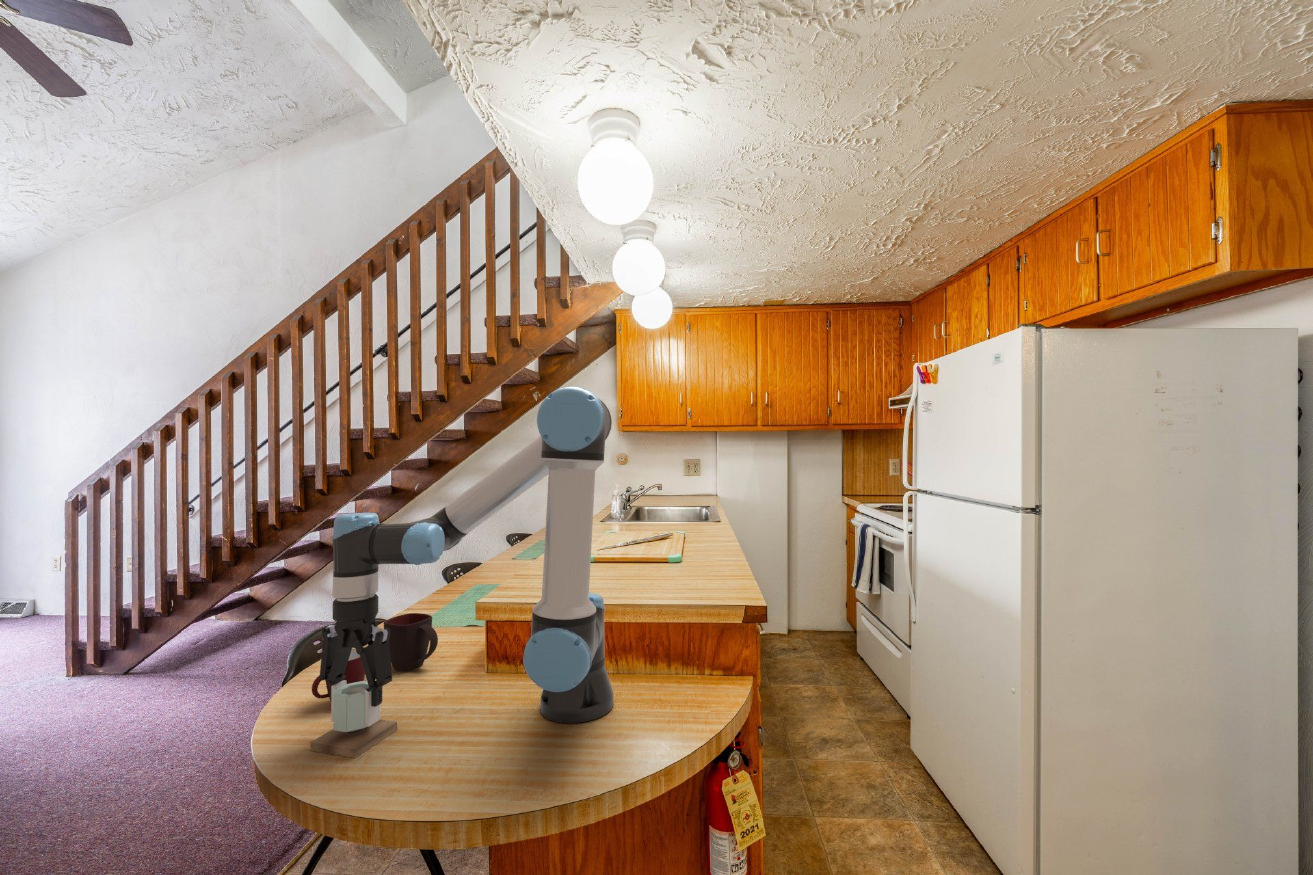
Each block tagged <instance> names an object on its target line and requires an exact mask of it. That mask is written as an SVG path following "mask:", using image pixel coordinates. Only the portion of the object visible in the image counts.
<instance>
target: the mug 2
mask: <svg viewBox="0 0 1313 875" xmlns="http://www.w3.org/2000/svg"><path fill="white" fill-rule="evenodd" d="M386 628H389V629H390V631H391V633H390V638H389V648H390V659H391V667H392V670H394V671H396V672H401V673H408V672H412V671H414V670H418V669H419V668H421V667H422V666H423V665H424V664H425V661H426V660H427V659H429V658H430V657H431V656H432V655H433V653H434V652H435V651H436V649H437V646H438V642H439V637H438V634H437V631H436V630H435V628H434V627H433V616H432V615H431V614H428V613H421V612H420V613H418V612H416V613H415V612H411V613H404V614H401V615H397V616H393V617H391V618H388V619H386V620H385V621H383V630H384V629H386Z"/></svg>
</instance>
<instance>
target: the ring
mask: <svg viewBox="0 0 1313 875" xmlns="http://www.w3.org/2000/svg"><path fill="white" fill-rule="evenodd" d="M357 687H363V688H365V690H366V689H367V688H369V685H368V682H367V680H364V681H360V682H355V683H350V684H346V685H344V686H342V687H340V688H338V689H336V690H334V722H333V725H332V726H333V728H332V729H333V730H335V731H342V732H349V731H353V730H358V729H362V728H365V727H366V726H365V691H364V692H362V693H357V694H352V695H346V692H347V691H348V690H350V689H352V688H357Z"/></svg>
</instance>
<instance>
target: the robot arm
mask: <svg viewBox="0 0 1313 875" xmlns="http://www.w3.org/2000/svg"><path fill="white" fill-rule="evenodd" d="M612 424H613V423H612V416H611V412H610V409H609V408H608V407H607V405H606V403H604V402H603V400H602V399H600V398H599V397H598V396H597V395H596V394H595V393H593V392H592V391H591V390H588V389H586V388H583V387H578V386H565V387H561V388H557V389H555V390H553V391H552V392H551V393H549V394H548V395H546V397H545V398H544V399H543V401H542V402H541V404H540V406H539V408H538V411H537V415H536V425H537V429H538V430H537V431H538V433H539V435H540V436H539V437H537V438H536V439H534V440H533V441H531V442H530V443H529V444H527V445H526V446H525V447H524V448H522V449H521V450H519V451H518V452H517V453H516V454H514V455H512V456H511V457H510V458H508V460H506V461H505V462H502V464H501V465H499V466H498V467H497V468H495V469H493V471H491V472H490V473H488V474H487V475H486V476H484V477H483V478H481V479H480V480H479V481H477V482H476V483H475V484H473V485H472V486H471V487H470V488H468V489H467V490H465V491H464V492H463V493H461V494H460V495H459V496H458V497H456V498H454V499H453V500H452V501H451V502H449V503H448V504H447V505H445V506H444V507H443V508H441V509H440V510H438V511H437V512H435V513H434V514H432V516H430V517H427V518H424V519H419V520H415V521H412V522H406V523H380V519H379V515H378V514H377V513H376V512H355V513H354V512H353V513H344V514H340V515H337V517H335V519H334V521H333V530H332V531H333V532H332V539H331V541H332V550H333V551H332V555H333V556H332V559H333V560H332V561H333V562H332V565H333V571H332V594H331V596H332V597H333V598H334V599H333V601H332V620H333V621H334V622H335V623H333V624H330V625H328V626H325V627H322V628H321V636H322V647H321V648H322V649H321V659H320V668H319V675H320V680H322V681H325V680H326V681H327V683H328V684H329V697H328V698H329V702H331V703H330V705H331V708H330V711H331V712H330V714H331V715H330V721H331V722H332V723H334V690H336V689H338V688H340V687H342V686H344V685H346V684H347V681H346V680H343V681H341V680H342V679H344V678H346V676H344V673H345V670H346V666H347V663H348V660H349V657H350V653H351V650H352V649H356V652H357V654H359V655H360V658H361V661H362V665H363V668H364V671H365V678H366V681H367V682H368V685H369V688H367V689H366V690H365V726H366V727H369V726H370V725H372V724H374V723H375V722H377V721H379V720H380V719H381V704H382V703H383V687H385V686H386V685H387V684H389V683H391V682H392V681H393V668H392V664H391V659H390V648H389V638H390V633H391V631H390V629H389V628H386V629H384V628H380V627H378V623H377V621H376V619H377V618H376V617H377V615H378V613H379V595H378V594H377V592H379V565H415V566H420V565H423V564H433V563H436V562H438V561H439V560H440V559H441V556H442V555H443V553H444V552H445V551H449V550H451V549H452V548H454V547H455V546H457V545H458V544H460V542H461V541H462V540H463V538H465V537H466V536H467V535H468V534H470V533H471V532H473V530H475V529H476V528H477V527H479V526H480V525H482V524H483V523H484V522H485V521H488V519H489V518H491V517H493V516H494V515H495V514H497V513H499V511H501V510H502V509H503V508H505V507H506V506H507V505H510V503H512V502H513V501H514V500H516V499H517V498H519V497H520V496H521V495H523V493H525V492H527V491H528V490H530V489H531V488H532V487H534V486H535V485H536V484H538V483H539V482H540V481H542V480H543V479H544V478H546V477H547V476H548V482H547V498H546V502H547V503H546V513H545V514H546V516H545V532H544V533H545V534H544V548H543V549H544V550H543V552H544V553H543V567H542V568H543V569H542V570H543V571H542V585H541V586H542V587H541V588H542V589H541V598H540V600H539V601H537V602H536V604H534V606H533V607H532V613H531V614H532V616H531V617H532V618H531V629H530V630H531V631H530V638H528V641H527V643H526V645H525V646H524V647H525V649H524V652H523V655H522V656H523V657H522V659H523V660H522V661H523V667H524V671H525V673H526V675H527V677H528V678H529V679H530V680H531V681H532V683H534V684H535V686H537V687H538V688H540V689H542V690H541V691H542V692H541V694H540V699H539V700H540V701H539V703H540V704H539V706H540V707H539V708H540V714H541V715H542V716H543V717H545V718H546V719H548V720H550V721H552V722H556V723H563V724H578V723H585V722H591V721H594V720H596V719H599V718H601V717H604V716H605V715H606V714H608V713H609V712H610V711H611V710H612V709H613V707H614V702H615V701H614V697H615V696H614V689H613V687H612V684H611V680H610V678H609V674H608V671H607V669H606V665H605V664H606V662H605V660H606V658H605V655H606V654H605V652H606V651H605V649H606V648H605V611H606V607H605V604H604V598H603V596H602V595H600V594H598V593H595V592H594V593H593V592H590V582H591V581H590V580H591V579H590V577H591V576H590V575H591V562H592V561H591V560H592V559H591V557H592V544H593V543H592V541H593V520H594V506H595V505H594V501H595V486H596V484H595V482H596V481H595V480H596V471H597V470H598V468H600V467H601V466H602V465H603V464H604V463H605V452H606V451H605V448H606V440H607V439H608V438H609V436H610V433H611V430H612ZM327 670H329V671H327ZM322 681H321V682H322Z"/></svg>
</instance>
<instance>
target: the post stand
mask: <svg viewBox="0 0 1313 875" xmlns="http://www.w3.org/2000/svg"><path fill="white" fill-rule="evenodd" d="M364 691H365V688H363V687H357V688H352V689H350V690H348V691H347V692H346V695H352V694H357V693H362V692H364ZM396 731H398V721H396V720H394V721H393V720H388V719H381V718H380V720H379V721H377V722H375V723H374V724H372V725H370V726H369V727H365V728H362V729H358V730H353V731H349V732H342V731H335V730H333V728H331V729H330V730H329V731H326V732H325V733H323V734H322V735H321V736H318V737H317V738H315V739H313V740H312V741H310V742H309V743H310V744H309V751H311V752H315V753H316V752H317V753H322V754H329V755H334V756H340V757H346V758H353V759H357V758H358V757H359V756H361V755H362V754H364V753H366V751H368V750H369V749H371V748H372V747H374V746H375V745H377V744H378V743H380V742H382V741H383V740H385V739H386V738H387V737H389V736H390V735H392V734H394V733H395V732H396Z"/></svg>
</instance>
